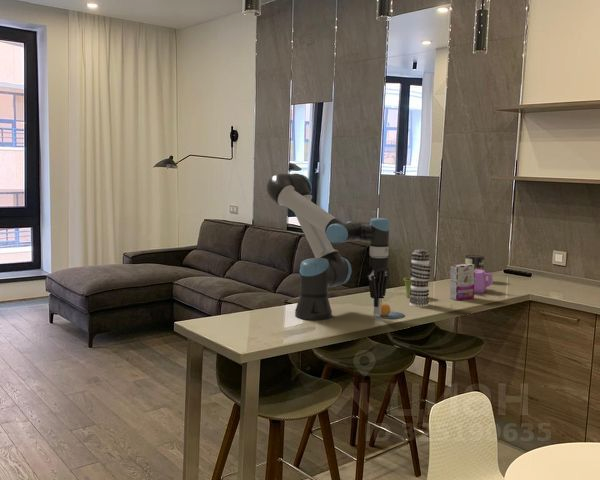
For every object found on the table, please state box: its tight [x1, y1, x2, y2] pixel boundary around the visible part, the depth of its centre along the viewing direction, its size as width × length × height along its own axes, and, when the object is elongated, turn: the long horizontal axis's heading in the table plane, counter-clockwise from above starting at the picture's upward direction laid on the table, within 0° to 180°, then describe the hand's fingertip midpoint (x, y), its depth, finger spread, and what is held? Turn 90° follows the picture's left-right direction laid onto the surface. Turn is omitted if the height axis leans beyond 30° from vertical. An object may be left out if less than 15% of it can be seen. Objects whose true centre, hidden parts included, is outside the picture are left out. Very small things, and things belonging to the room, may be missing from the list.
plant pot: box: [403, 277, 411, 299], centre depth 294 cm, size 9×9×9 cm
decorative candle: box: [408, 248, 432, 308], centre depth 275 cm, size 9×9×25 cm
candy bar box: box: [449, 263, 475, 301], centre depth 291 cm, size 11×5×16 cm, turn 117°
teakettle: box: [448, 269, 494, 295], centre depth 312 cm, size 17×17×12 cm
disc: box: [372, 310, 406, 320], centre depth 255 cm, size 13×13×1 cm
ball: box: [380, 302, 391, 316], centre depth 253 cm, size 6×6×6 cm
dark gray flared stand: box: [464, 254, 485, 271], centre depth 341 cm, size 10×10×14 cm
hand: (377, 314), depth 248 cm, fingers closed
